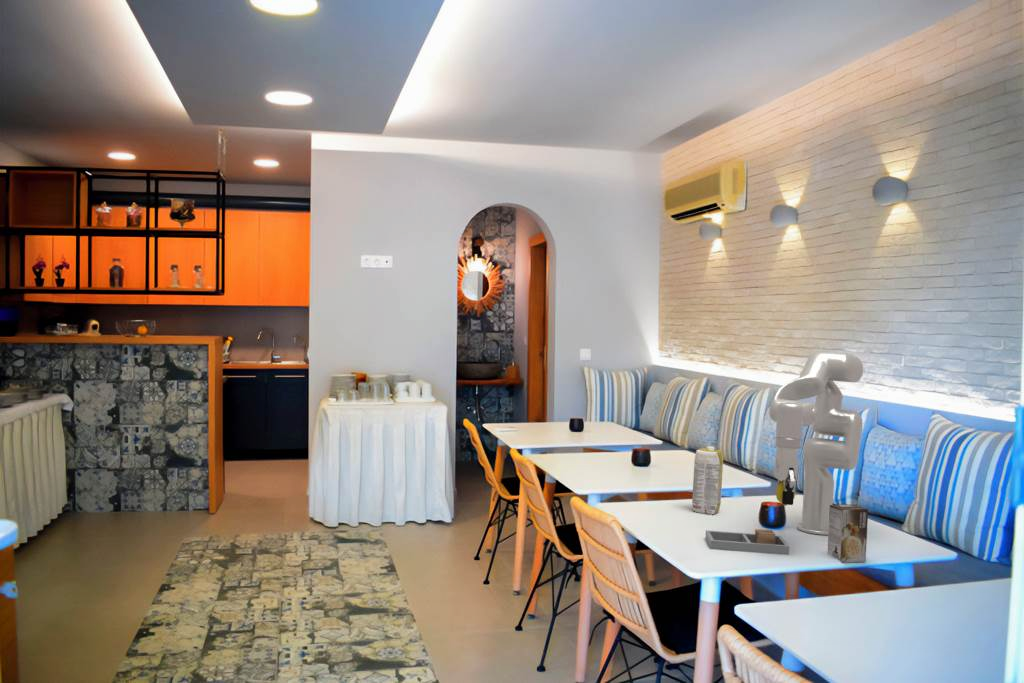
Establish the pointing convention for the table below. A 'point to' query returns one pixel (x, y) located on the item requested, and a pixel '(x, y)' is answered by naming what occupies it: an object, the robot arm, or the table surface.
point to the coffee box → (847, 533)
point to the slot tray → (744, 543)
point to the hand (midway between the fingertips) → (784, 501)
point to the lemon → (781, 491)
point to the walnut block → (764, 536)
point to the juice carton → (707, 480)
